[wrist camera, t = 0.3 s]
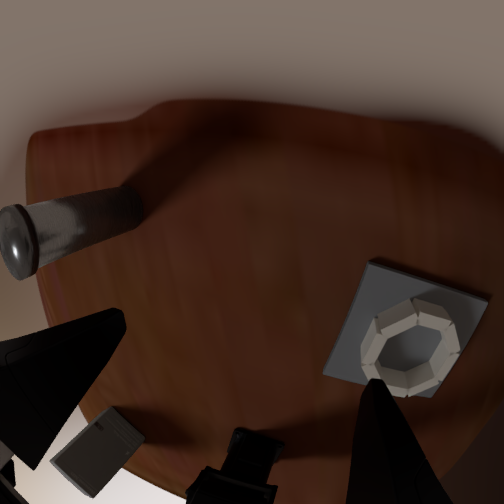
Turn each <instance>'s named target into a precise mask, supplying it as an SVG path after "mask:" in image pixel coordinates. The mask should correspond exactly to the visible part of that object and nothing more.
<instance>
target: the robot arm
mask: <svg viewBox="0 0 504 504" xmlns="http://www.w3.org/2000/svg"><path fill="white" fill-rule="evenodd" d="M125 332H126V322H125V318H124V313H123V312H122V311H121V310H119V309H117V308H110V309H107V310H104V311H100V312H97V313H94V314H91V315H88V316H85V317H82V318H79V319H76V320H72V321H69V322H66V323H63V324H60V325H57V326H54V327H51V328H47V329H44V330H41V331H38V332H36V333H32V334H28V335H25V336H22V337H19V338H14V339H10V340H5V341H1V342H0V504H29V503H28V502H27V501H26V500H25V499H24V498H23V497H22V496H21V495H20V494H19V493H18V492H17V491H16V490H15V489H14V487H15V485H16V482H15V471H14V462H13V460H12V459H11V458H12V456H13V455H14V454H15V455H16V456H17V457H18V458H19V459H20V460H22V461H23V462H24V463H25V464H26V465H27V466H29V467H30V468H31V469H32V470H35V469H36V467H37V466H38V464H39V463H40V461H41V459H42V458H43V456H44V455H45V453H46V452H47V450H48V449H49V447H50V445H51V444H52V442H53V441H54V439H55V438H56V435H58V433H59V432H60V430H61V428H62V427H63V425H64V424H65V422H66V421H67V419H68V418H69V417H70V415H71V414H72V412H73V411H74V409H75V408H76V406H77V405H78V404H79V402H80V401H81V399H82V398H83V396H84V395H85V394H86V392H87V391H88V389H89V388H90V386H91V385H92V384H93V382H94V381H95V379H96V378H97V377H98V375H99V374H100V373H101V371H102V370H103V368H104V367H105V366H106V364H107V363H108V361H109V360H110V358H111V356H112V355H113V353H114V351H115V349H116V348H117V346H118V344H119V343H120V341H121V339H122V338H123V336H124V334H125ZM284 446H285V444H284V443H282V442H279V441H275V440H272V439H269V438H265V437H262V436H259V435H256V434H253V433H250V432H247V431H244V430H241V429H238V428H236V429H234V432H233V435H232V438H231V441H230V444H229V447H228V450H227V452H228V455H227V457H226V459H225V461H224V463H223V465H222V467H221V470H220V471H219V470H216V469H213V468H211V467H210V466H206V468H205V469H204V470H201V472H200V474H199V476H198V477H197V479H196V480H195V481H194V483H193V484H192V485H191V486H190V487H189V488H188V489H187V490H186V492H185V494H186V496H187V499H186V504H273V503H274V499H275V496H276V492H277V488H278V486H277V485H269V484H266V483H267V480H268V477H269V474H270V471H271V468H272V466H273V464H274V463H275V461H276V460H277V458H278V456H279V455H280V453H281V452H282V450H283V449H284ZM346 504H453V502H452V501H451V499H450V498H449V496H448V495H447V493H446V492H445V490H444V489H443V487H442V485H441V484H440V482H439V480H438V479H437V477H436V475H435V473H434V471H433V470H432V468H431V466H430V464H429V462H428V460H427V459H426V456H425V454H424V453H423V451H422V449H421V447H420V445H419V443H418V441H417V439H416V437H415V436H414V434H413V432H412V430H411V428H410V426H409V425H408V423H407V421H406V419H405V417H404V415H403V414H402V412H401V410H400V408H399V407H398V405H397V403H396V401H395V399H394V398H393V396H392V394H391V392H390V391H389V389H388V387H387V385H386V384H385V382H384V381H383V380H382V379H377V378H371V379H370V380H369V382H368V384H367V385H366V387H365V389H364V391H363V393H362V395H361V399H360V405H359V411H358V416H357V422H356V427H355V432H354V438H353V446H352V457H351V467H350V476H349V483H348V491H347V498H346Z"/></svg>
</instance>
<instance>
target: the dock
mask: <svg viewBox="0 0 504 504" xmlns="http://www.w3.org/2000/svg"><path fill="white" fill-rule="evenodd" d="M487 304H488V302H487V301H486V300H485V299H483V298H480V297H477V296H475V295H472V294H469V293H466V292H463V291H460V290H457V289H454V288H451V287H448V286H445V285H442V284H439V283H436V282H433V281H430V280H427V279H424V278H421V277H418V276H415V275H411V274H408V273H405V272H402V271H399V270H396V269H393V268H389V267H386V266H383V265H380V264H377V263H374V262H370V261H368V262H367V265H366V268H365V271H364V273H363V276H362V279H361V282H360V284H359V287H358V289H357V292H356V295H355V297H354V300H353V302H352V305H351V307H350V310H349V312H348V315H347V317H346V320H345V322H344V324H343V327H342V329H341V331H340V334H339V336H338V338H337V340H336V343H335V345H334V347H333V349H332V351H331V354H330V356H329V358H328V360H327V362H326V364H325V366H324V369H323V374H324V375H328V376H331V377H335V378H339V379H343V380H347V381H351V382H355V383H359V384H363V385H367V384H368V382H369V380H370V379H371V378H377V379H382V380H383V381H384V382H385V384H386V385H387V387H388V389H389V391H390V392H391V394H392V395H394V396H399V397H404V398H405V396H406V395H407V394H408V397H410V396H412V395H417V396H422V397H428V398H431V397H432V396H433V394H434V393H435V392H436V390H437V389H438V388H439V386H440V385H441V383H442V382H443V380H444V379H445V378H446V376H447V375H448V373H449V372H450V370H451V369H452V367H453V365H454V364H455V362H456V361H457V359H458V358H459V356H460V354H461V353H462V351H463V349H464V348H465V346H466V344H467V343H468V341H469V339H470V337H471V335H472V334H473V332H474V330H475V328H476V326H477V324H478V322H479V321H480V319H481V317H482V315H483V313H484V311H485V309H486V306H487Z"/></svg>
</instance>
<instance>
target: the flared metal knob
mask: <svg viewBox="0 0 504 504" xmlns="http://www.w3.org/2000/svg"><path fill="white" fill-rule="evenodd" d="M142 215H143V206H142V202H141V199H140V197H139V195H138V193H137V192H136V191H135V190H134V189H133V188H131V187H129V186H120V187H114V188H108V189H102V190H97V191H92V192H86V193H81V194H76V195H72V196H67V197H62V198H58V199H53V200H49V201H44V202H40V203H36V204H32V205H28V206H24V207H23V206H22V205H20V204H15V205H10V206H7V207H4V208H2V209H1V211H0V251H1V254H2V257H3V259H4V262H5V264H6V266H7V268H8V270H9V271H10V273H11V274H12V275H13V277H15V278H16V279H17V280H23V279H26V278H28V277H30V276H32V275H34V274H35V273H36V272H37V270H38V268H39V267H42V266H44V265H46V264H48V263H51V262H53V261H55V260H58V259H60V258H62V257H65V256H67V255H70V254H72V253H74V252H77V251H79V250H82V249H84V248H87V247H89V246H92V245H94V244H97V243H99V242H102V241H104V240H107V239H110V238H112V237H115V236H118V235H120V234H123V233H125V232H128V231H131V230H133V229H135V228H136V227H137V226H138V225H139V224H140V222H141V219H142Z"/></svg>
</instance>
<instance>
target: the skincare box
mask: <svg viewBox="0 0 504 504" xmlns="http://www.w3.org/2000/svg"><path fill="white" fill-rule="evenodd" d="M144 441H145V437H144V436H143V435H142V434H141V433H139V432H138V431H137V430H136V429H135V428H134V427H133V426H132V425H131V424H129V423H128V422H127V421H126V420H125V419H124V418H123V417H122V416H121V415H120V414H119V413H118V412H117V411H116V410H115V409H114V408H113V407H112V406H111V407H109V408H108V409H106V410H104V411H103V412H101V413H100V414H99V415H98V416H97V417H96V418H94V419H93V420H92V421H91V422H90V423H89V424H88V425H87V426H86V427H85V428H84V429H83V430H82V431H81V432H80V433H79V434H78V435H77V436H76V437H75V438H73V439H72V440H71V441H70V442H69V443H68V444H67V445H66V446H65V447H64V448H63V449H62V450H61V451H60V452H58V453H57V454H56V455H55V456H54V457H53V458H52V459H51V460H50V462H51V463H52V464H53V466H54V467H55V468H56V469H57V470H58V471H59V472H60V473H61V474H62V475H63V476H64V477H65V478H66V479H67V480H68V481H70V482H71V483H72V484H73V485H74V486H75V487H76V488H77V489H79V490H80V491H81V492H82V493H83V494H85V495H87V496H89V497H90V498H94V497H95V496H96V495H97V494H98V493H99V492H100V491H101V490H102V489H103V487H104V486H105V485H106V484H107V483H108V482H109V481H110V480H111V479H112V478H113V476H114V475H115V474H116V473H117V472H118V471H119V470H120V469H121V467H122V466H123V465H124V464H125V463H126V462H127V461H128V459H129V458H130V457H131V456H132V455H133V454H134V453H135V451H136V450H137V449H138V448H139V447H140V446H141V444H142V443H143V442H144Z"/></svg>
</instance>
